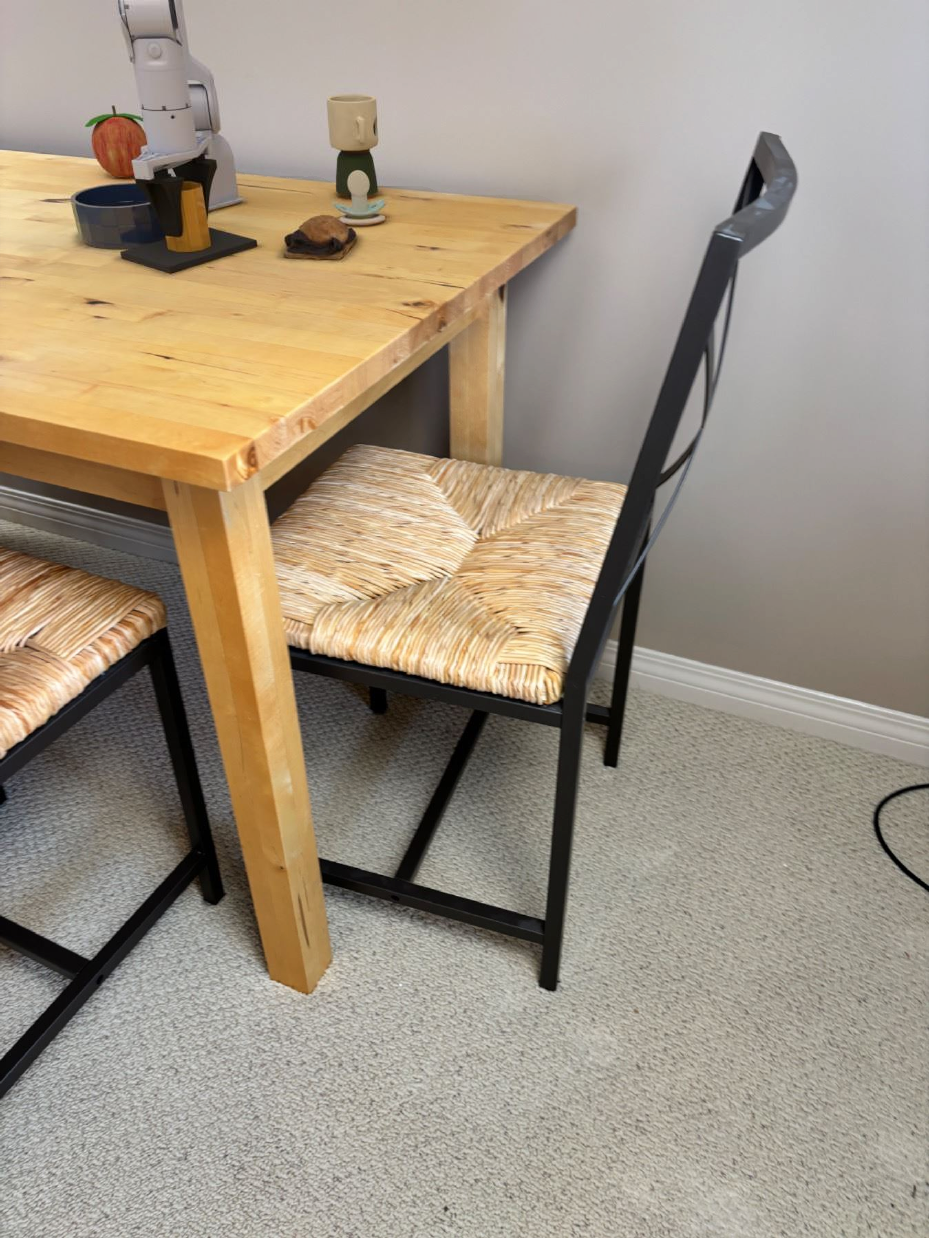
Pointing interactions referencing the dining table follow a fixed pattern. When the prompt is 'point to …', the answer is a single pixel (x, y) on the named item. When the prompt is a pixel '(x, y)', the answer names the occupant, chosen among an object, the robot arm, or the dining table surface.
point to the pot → (115, 217)
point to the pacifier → (360, 202)
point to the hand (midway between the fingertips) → (186, 229)
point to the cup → (191, 221)
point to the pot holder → (175, 261)
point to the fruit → (117, 142)
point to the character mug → (353, 137)
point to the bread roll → (320, 239)
